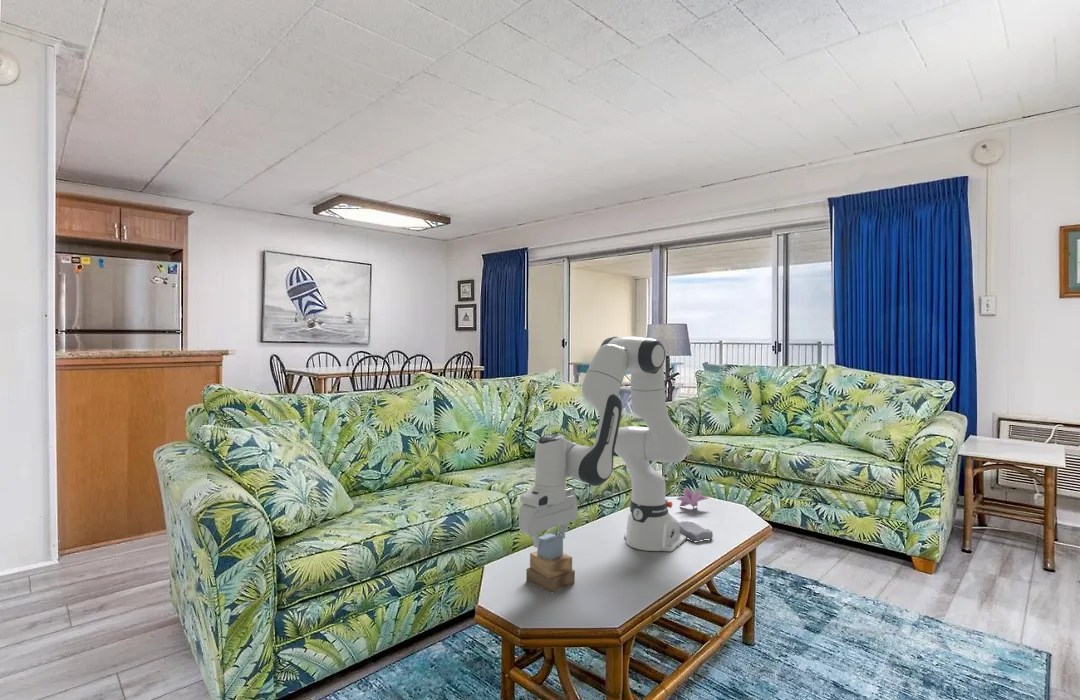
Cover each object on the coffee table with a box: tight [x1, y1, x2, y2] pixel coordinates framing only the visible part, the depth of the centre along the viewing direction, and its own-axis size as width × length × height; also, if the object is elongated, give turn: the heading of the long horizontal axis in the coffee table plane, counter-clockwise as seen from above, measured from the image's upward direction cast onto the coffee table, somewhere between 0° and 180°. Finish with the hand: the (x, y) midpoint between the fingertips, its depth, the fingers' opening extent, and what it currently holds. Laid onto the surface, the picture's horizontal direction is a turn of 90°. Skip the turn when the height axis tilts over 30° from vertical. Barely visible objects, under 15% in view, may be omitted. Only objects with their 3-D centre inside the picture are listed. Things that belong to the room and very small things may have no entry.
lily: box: [675, 487, 709, 512], centre depth 227 cm, size 12×12×10 cm
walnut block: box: [525, 566, 576, 593], centre depth 157 cm, size 9×10×4 cm
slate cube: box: [537, 532, 564, 560], centre depth 157 cm, size 5×5×5 cm
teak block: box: [529, 550, 573, 578], centre depth 157 cm, size 8×9×4 cm
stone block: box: [678, 520, 714, 542], centre depth 197 cm, size 12×5×10 cm
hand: (549, 542), depth 157 cm, fingers open, 8 cm apart
